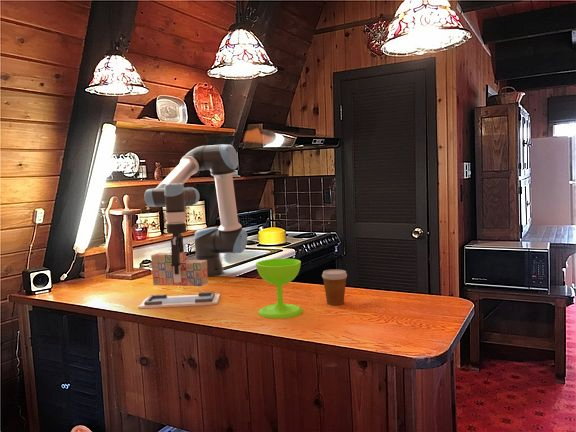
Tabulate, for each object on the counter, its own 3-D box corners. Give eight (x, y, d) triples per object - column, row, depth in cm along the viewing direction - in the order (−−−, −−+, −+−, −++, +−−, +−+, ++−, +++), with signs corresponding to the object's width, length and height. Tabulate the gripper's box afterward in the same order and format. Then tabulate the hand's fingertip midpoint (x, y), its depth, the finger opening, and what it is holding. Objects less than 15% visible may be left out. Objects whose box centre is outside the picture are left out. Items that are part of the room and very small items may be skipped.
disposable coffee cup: (330, 307, 181) (329, 275, 180) (318, 302, 190) (317, 271, 189) (353, 304, 185) (352, 272, 184) (339, 298, 194) (338, 268, 193)
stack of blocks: (208, 283, 198) (207, 252, 196) (201, 286, 192) (199, 255, 190) (161, 281, 204) (159, 252, 203) (152, 285, 198) (150, 254, 197)
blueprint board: (146, 299, 205) (146, 294, 205) (220, 295, 206) (219, 290, 206) (138, 308, 191) (138, 303, 191) (217, 304, 192) (216, 299, 192)
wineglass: (286, 303, 189) (284, 256, 188) (311, 312, 176) (309, 262, 175) (250, 311, 181) (247, 262, 179) (273, 321, 167) (271, 268, 166)
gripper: (171, 220, 206) (174, 275, 208) (161, 225, 185) (164, 286, 187) (189, 220, 206) (192, 274, 208) (181, 225, 186) (184, 285, 188)
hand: (179, 279), depth 198 cm, fingers closed on stack of blocks, 8 cm apart
